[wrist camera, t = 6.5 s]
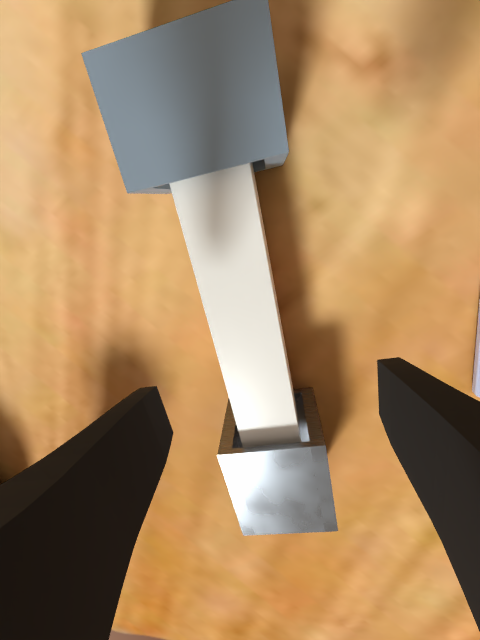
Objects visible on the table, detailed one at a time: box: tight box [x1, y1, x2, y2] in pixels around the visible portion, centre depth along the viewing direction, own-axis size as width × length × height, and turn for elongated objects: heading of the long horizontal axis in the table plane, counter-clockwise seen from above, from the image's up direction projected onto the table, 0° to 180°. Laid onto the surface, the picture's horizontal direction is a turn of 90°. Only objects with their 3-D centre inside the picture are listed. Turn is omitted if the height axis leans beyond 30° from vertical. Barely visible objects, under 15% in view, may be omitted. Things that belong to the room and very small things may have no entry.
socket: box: [81, 0, 289, 194], centre depth 13 cm, size 6×4×5 cm
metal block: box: [217, 387, 338, 536], centre depth 20 cm, size 6×7×5 cm
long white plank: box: [169, 162, 301, 448], centre depth 16 cm, size 4×19×4 cm, turn 13°
